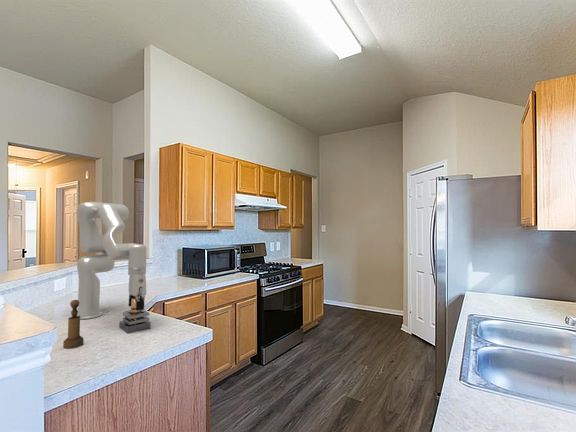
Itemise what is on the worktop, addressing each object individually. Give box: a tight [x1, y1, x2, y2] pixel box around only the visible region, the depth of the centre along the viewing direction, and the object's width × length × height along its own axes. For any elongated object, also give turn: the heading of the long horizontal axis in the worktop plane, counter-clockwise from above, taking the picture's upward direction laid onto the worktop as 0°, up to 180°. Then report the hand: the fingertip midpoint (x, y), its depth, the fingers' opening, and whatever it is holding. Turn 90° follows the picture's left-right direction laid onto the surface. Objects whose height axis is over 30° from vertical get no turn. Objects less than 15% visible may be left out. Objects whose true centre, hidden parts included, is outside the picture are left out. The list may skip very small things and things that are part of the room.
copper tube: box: [130, 297, 141, 320], centre depth 144 cm, size 4×4×11 cm
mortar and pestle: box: [62, 299, 84, 349], centre depth 123 cm, size 7×6×18 cm
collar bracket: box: [118, 309, 151, 335], centre depth 144 cm, size 11×10×7 cm
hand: (136, 307), depth 144 cm, fingers open, 9 cm apart
